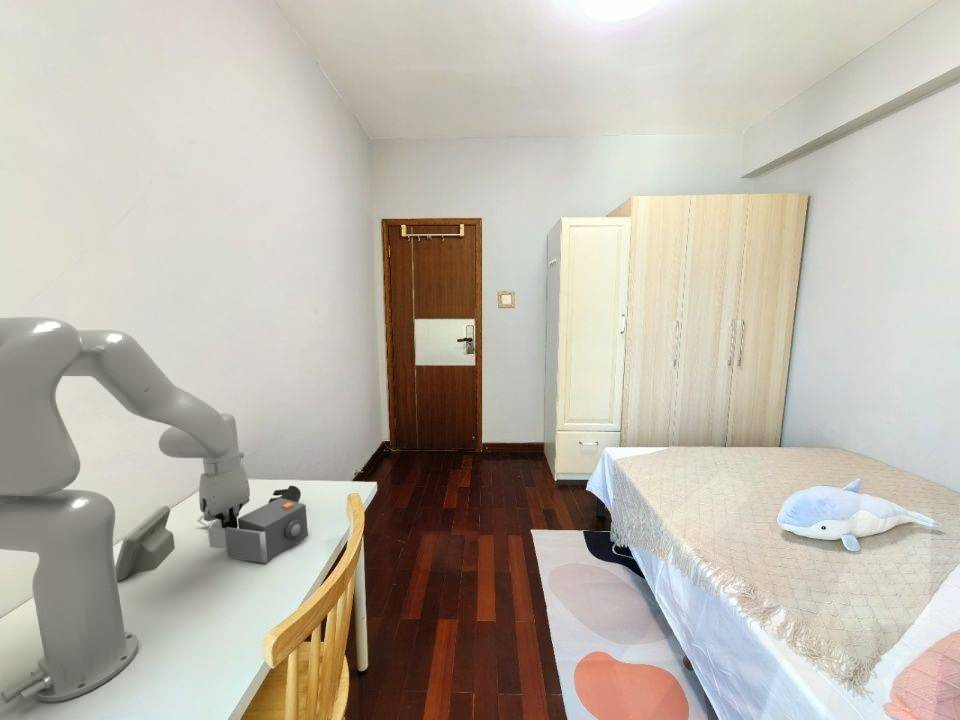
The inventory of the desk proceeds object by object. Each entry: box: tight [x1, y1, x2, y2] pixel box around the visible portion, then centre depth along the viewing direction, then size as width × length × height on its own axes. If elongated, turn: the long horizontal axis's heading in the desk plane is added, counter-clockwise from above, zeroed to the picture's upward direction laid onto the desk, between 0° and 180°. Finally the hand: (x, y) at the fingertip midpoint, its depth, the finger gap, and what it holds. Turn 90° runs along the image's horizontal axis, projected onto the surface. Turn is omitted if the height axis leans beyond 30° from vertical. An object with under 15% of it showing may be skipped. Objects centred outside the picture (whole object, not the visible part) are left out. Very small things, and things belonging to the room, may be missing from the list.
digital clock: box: [115, 505, 176, 582], centre depth 96 cm, size 16×9×11 cm, turn 1°
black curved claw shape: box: [267, 485, 302, 504], centre depth 118 cm, size 10×7×7 cm
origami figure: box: [196, 510, 228, 534], centre depth 111 cm, size 12×8×5 cm
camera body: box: [237, 497, 309, 563], centre depth 102 cm, size 12×11×10 cm
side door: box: [207, 526, 269, 564], centre depth 96 cm, size 1×16×8 cm, turn 77°
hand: (230, 532), depth 99 cm, fingers closed
